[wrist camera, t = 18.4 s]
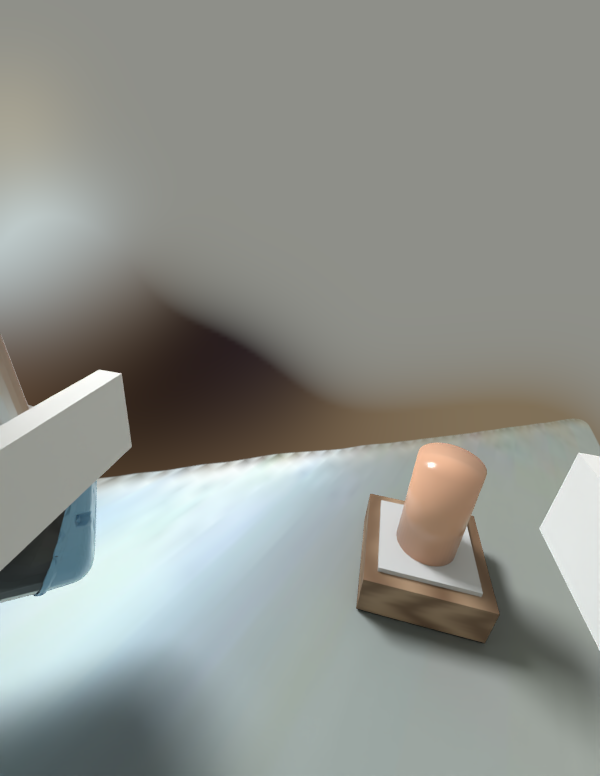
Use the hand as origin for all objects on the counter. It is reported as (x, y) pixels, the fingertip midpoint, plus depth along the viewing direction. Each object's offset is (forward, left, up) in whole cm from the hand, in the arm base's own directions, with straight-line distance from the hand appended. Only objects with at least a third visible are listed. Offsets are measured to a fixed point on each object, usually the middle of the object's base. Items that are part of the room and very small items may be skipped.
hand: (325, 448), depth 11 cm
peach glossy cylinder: (+11, +26, -29) cm, 41 cm away
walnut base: (+11, +26, -34) cm, 45 cm away
